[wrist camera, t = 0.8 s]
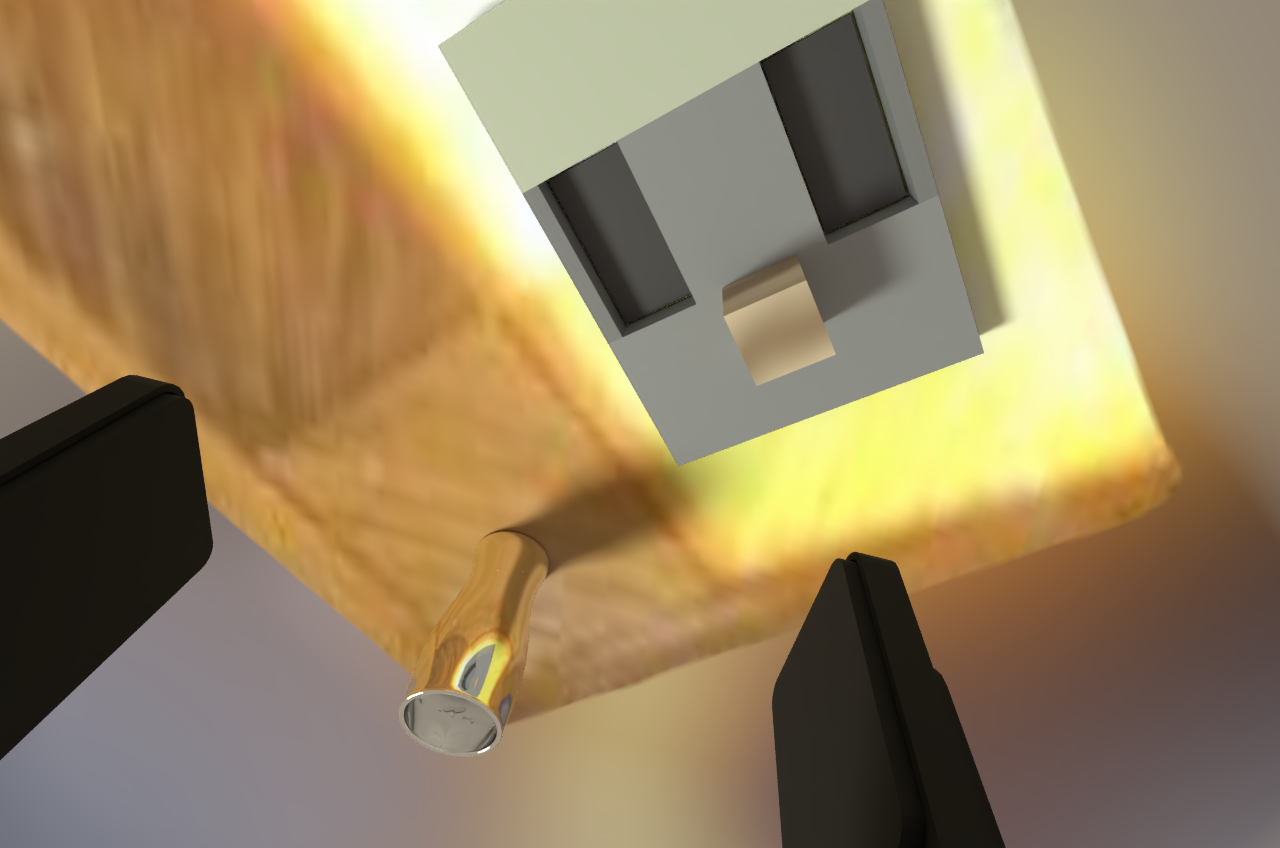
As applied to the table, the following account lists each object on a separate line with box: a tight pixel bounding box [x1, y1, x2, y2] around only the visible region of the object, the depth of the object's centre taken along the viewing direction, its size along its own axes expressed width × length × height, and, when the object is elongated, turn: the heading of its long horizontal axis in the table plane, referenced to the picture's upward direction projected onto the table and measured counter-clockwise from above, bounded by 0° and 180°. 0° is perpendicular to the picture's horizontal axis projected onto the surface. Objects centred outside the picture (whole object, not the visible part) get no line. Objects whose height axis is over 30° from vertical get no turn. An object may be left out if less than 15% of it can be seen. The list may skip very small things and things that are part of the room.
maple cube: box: [722, 255, 836, 386], centre depth 36 cm, size 4×4×4 cm
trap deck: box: [438, 0, 984, 466], centre depth 37 cm, size 28×20×2 cm
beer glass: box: [398, 531, 549, 757], centre depth 47 cm, size 7×7×15 cm
